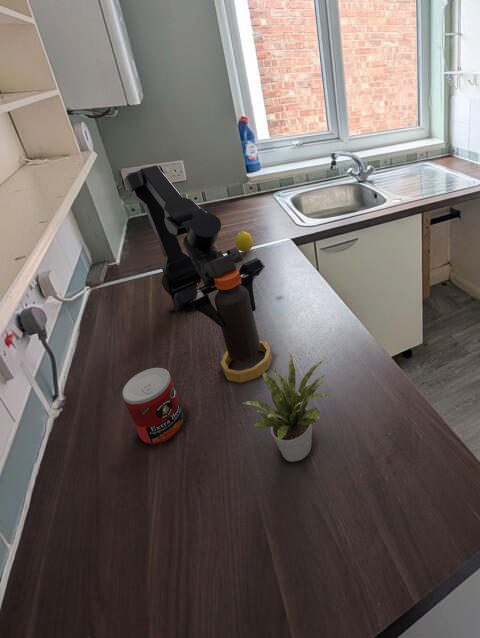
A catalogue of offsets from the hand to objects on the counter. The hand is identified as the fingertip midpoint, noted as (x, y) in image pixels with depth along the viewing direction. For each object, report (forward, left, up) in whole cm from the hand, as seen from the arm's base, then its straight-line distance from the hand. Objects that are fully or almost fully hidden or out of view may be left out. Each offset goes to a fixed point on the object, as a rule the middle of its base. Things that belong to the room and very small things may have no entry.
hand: (239, 318), depth 85 cm
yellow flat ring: (-1, +1, -13) cm, 13 cm away
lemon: (-17, +55, -9) cm, 58 cm away
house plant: (+15, -20, -13) cm, 28 cm away
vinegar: (-1, +1, -10) cm, 10 cm away
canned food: (-13, -14, -13) cm, 23 cm away
